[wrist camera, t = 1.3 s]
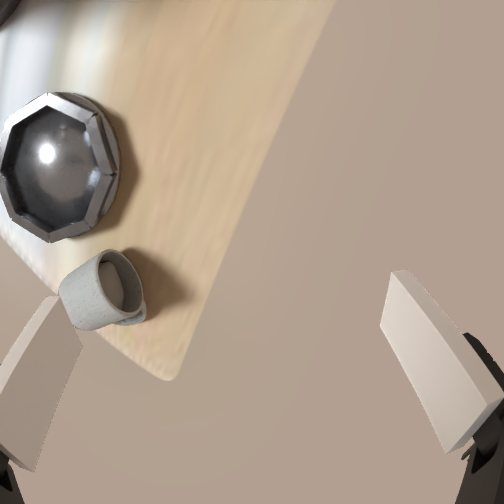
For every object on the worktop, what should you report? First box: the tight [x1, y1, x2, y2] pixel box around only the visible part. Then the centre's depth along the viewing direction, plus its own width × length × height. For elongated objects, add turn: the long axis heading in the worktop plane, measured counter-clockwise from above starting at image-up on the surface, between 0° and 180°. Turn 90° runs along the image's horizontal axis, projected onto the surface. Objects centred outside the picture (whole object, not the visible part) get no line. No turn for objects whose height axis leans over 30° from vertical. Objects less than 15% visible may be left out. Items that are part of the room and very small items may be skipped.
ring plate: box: [0, 92, 121, 243], centre depth 26 cm, size 17×17×2 cm
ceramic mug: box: [58, 249, 147, 331], centre depth 32 cm, size 11×8×8 cm
